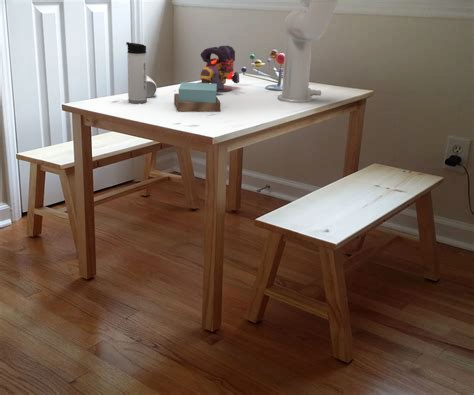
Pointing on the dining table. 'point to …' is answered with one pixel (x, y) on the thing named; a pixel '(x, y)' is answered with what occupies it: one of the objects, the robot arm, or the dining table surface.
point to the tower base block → (196, 106)
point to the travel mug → (137, 73)
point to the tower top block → (197, 92)
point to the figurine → (219, 67)
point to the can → (150, 87)
